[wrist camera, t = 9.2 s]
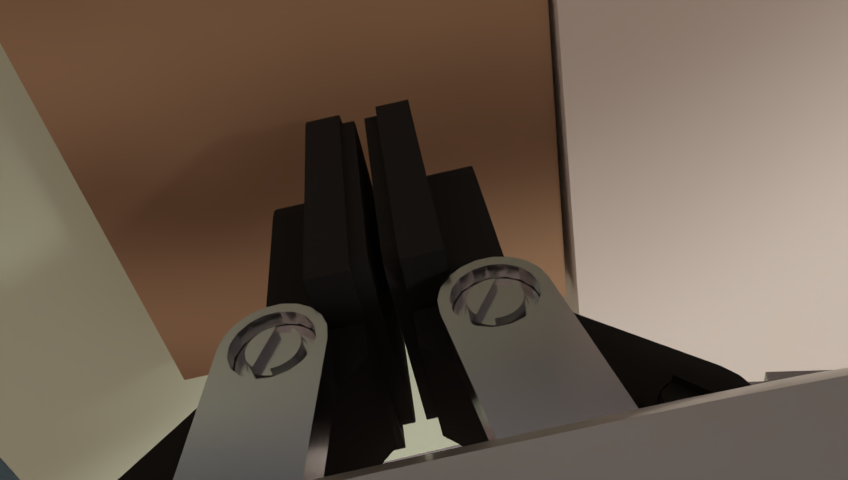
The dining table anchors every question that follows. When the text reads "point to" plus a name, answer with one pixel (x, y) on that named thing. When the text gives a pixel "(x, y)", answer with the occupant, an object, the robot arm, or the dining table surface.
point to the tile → (276, 126)
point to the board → (707, 175)
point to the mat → (84, 326)
